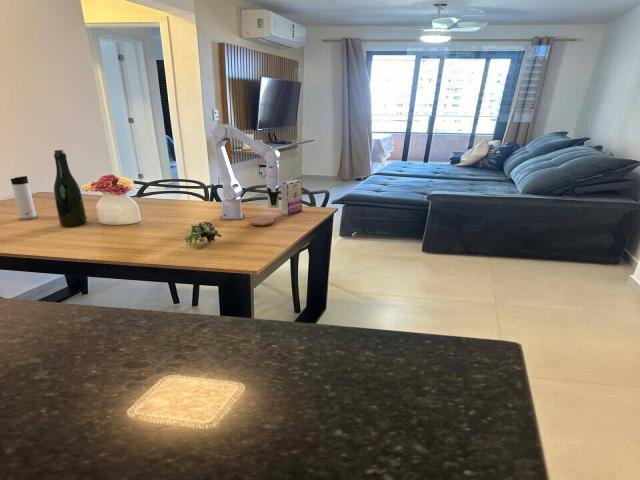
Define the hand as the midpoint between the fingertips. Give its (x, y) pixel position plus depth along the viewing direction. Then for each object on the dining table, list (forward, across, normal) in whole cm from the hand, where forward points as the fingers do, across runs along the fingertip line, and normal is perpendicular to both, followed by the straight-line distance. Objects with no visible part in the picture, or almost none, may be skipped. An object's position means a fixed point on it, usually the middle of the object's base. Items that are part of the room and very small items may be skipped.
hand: (273, 203), depth 182 cm
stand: (+8, -6, +6) cm, 12 cm away
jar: (+1, 0, 0) cm, 1 cm away
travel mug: (+8, +15, +115) cm, 116 cm away
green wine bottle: (+8, +2, +90) cm, 90 cm away
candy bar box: (+8, +13, -10) cm, 18 cm away
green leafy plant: (+8, -33, +29) cm, 45 cm away
